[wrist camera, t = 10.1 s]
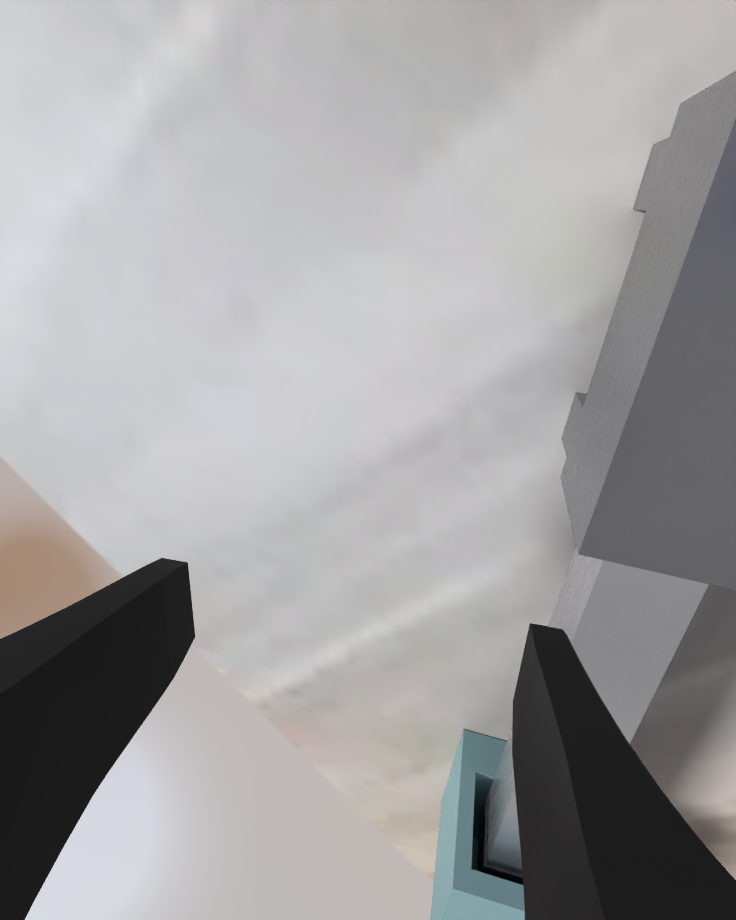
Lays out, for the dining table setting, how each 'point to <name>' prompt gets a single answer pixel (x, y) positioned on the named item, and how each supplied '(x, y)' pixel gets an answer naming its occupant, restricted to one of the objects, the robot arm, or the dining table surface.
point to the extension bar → (598, 670)
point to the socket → (470, 841)
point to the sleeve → (668, 369)
